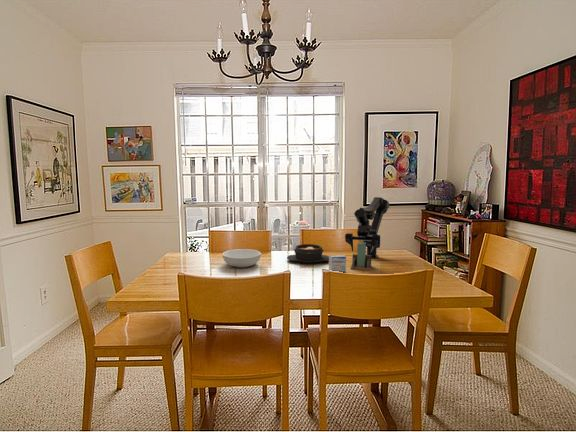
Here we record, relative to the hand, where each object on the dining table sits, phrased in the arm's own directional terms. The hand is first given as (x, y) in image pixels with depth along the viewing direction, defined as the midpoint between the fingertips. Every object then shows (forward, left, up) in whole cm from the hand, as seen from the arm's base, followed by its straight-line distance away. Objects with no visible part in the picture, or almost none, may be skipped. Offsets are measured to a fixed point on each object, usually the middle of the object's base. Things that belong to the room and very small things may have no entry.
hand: (361, 251), depth 190 cm
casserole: (0, -31, -9) cm, 32 cm away
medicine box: (+14, -9, -9) cm, 18 cm away
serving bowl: (+25, -60, -9) cm, 65 cm away
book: (-1, 0, -8) cm, 8 cm away
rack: (-1, 0, -9) cm, 9 cm away
